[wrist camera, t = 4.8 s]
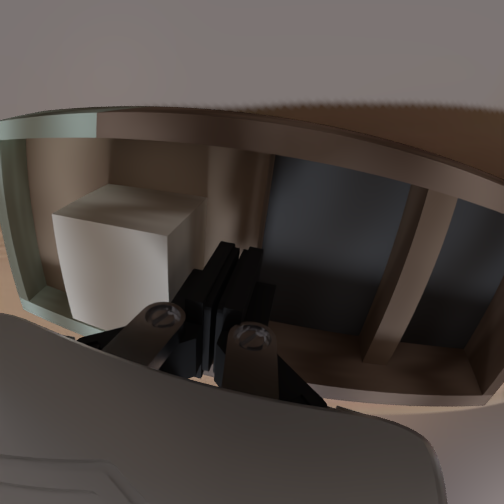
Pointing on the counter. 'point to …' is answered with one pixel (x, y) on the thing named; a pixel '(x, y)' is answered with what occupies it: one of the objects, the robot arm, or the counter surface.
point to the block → (127, 250)
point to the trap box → (292, 237)
